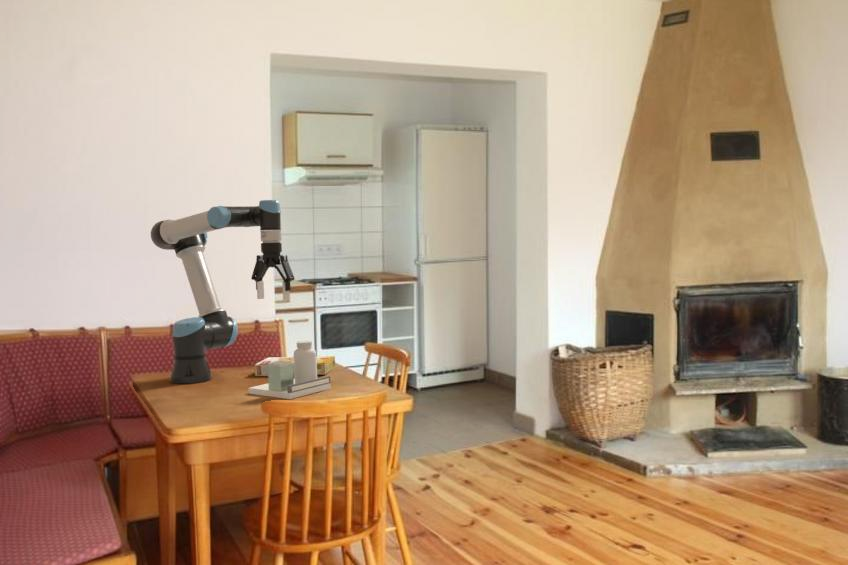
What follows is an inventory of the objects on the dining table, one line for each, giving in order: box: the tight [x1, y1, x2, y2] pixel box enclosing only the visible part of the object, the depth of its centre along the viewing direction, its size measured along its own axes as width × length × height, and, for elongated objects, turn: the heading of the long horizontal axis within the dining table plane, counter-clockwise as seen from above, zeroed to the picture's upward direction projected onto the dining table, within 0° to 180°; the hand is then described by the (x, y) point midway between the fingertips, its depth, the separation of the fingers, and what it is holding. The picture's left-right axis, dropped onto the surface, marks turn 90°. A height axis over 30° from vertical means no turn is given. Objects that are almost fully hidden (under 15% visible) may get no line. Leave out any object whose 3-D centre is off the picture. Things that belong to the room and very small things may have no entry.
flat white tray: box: [248, 375, 332, 400], centre depth 288 cm, size 20×20×4 cm
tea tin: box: [267, 360, 295, 391], centre depth 282 cm, size 6×6×9 cm
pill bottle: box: [293, 340, 318, 384], centre depth 290 cm, size 8×8×15 cm
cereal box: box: [254, 355, 336, 377], centre depth 328 cm, size 20×6×28 cm
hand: (273, 299), depth 306 cm, fingers open, 13 cm apart
